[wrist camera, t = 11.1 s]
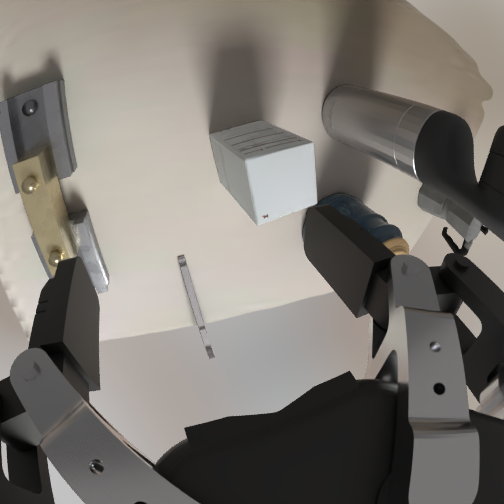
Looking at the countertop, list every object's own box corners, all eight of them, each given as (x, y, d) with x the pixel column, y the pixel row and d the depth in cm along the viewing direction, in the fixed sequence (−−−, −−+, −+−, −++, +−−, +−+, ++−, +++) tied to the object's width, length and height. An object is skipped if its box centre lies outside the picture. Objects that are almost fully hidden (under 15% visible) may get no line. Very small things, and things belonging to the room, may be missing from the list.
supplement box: (269, 168, 40) (319, 206, 31) (219, 183, 39) (255, 228, 29) (262, 118, 36) (316, 141, 26) (207, 131, 34) (243, 159, 25)
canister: (300, 200, 46) (373, 265, 32) (362, 184, 49) (436, 235, 35) (300, 263, 54) (356, 331, 40) (355, 242, 57) (414, 298, 44)
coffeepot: (426, 164, 53) (492, 203, 39) (445, 168, 56) (504, 204, 43) (406, 226, 61) (462, 270, 48) (426, 224, 65) (477, 264, 51)
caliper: (206, 336, 55) (216, 361, 51) (201, 337, 55) (210, 362, 50) (183, 254, 43) (193, 280, 38) (176, 256, 43) (185, 282, 38)
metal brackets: (63, 80, 23) (56, 80, 20) (109, 275, 39) (109, 291, 37) (6, 101, 20) (-6, 104, 18) (62, 286, 37) (60, 302, 34)
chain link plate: (50, 144, 25) (35, 158, 20) (78, 247, 33) (74, 275, 29) (26, 152, 24) (9, 168, 19) (58, 252, 32) (51, 281, 28)
